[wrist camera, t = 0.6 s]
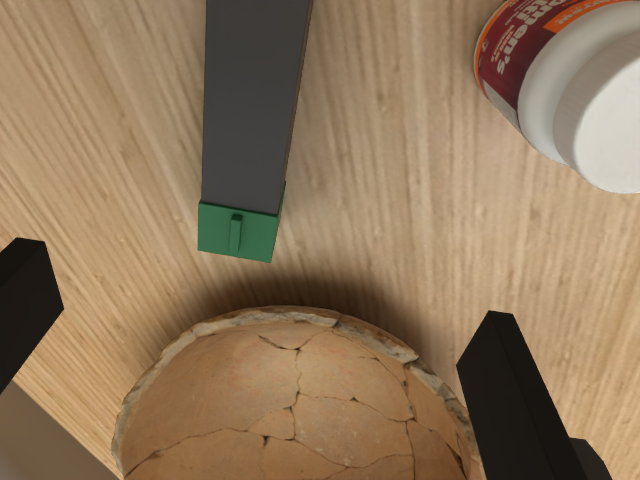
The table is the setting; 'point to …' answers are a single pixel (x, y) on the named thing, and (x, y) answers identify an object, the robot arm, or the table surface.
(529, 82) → the pill bottle
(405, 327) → the table surface
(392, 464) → the ceramic bowl
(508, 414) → the robot arm
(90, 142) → the table surface
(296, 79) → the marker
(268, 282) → the table surface
